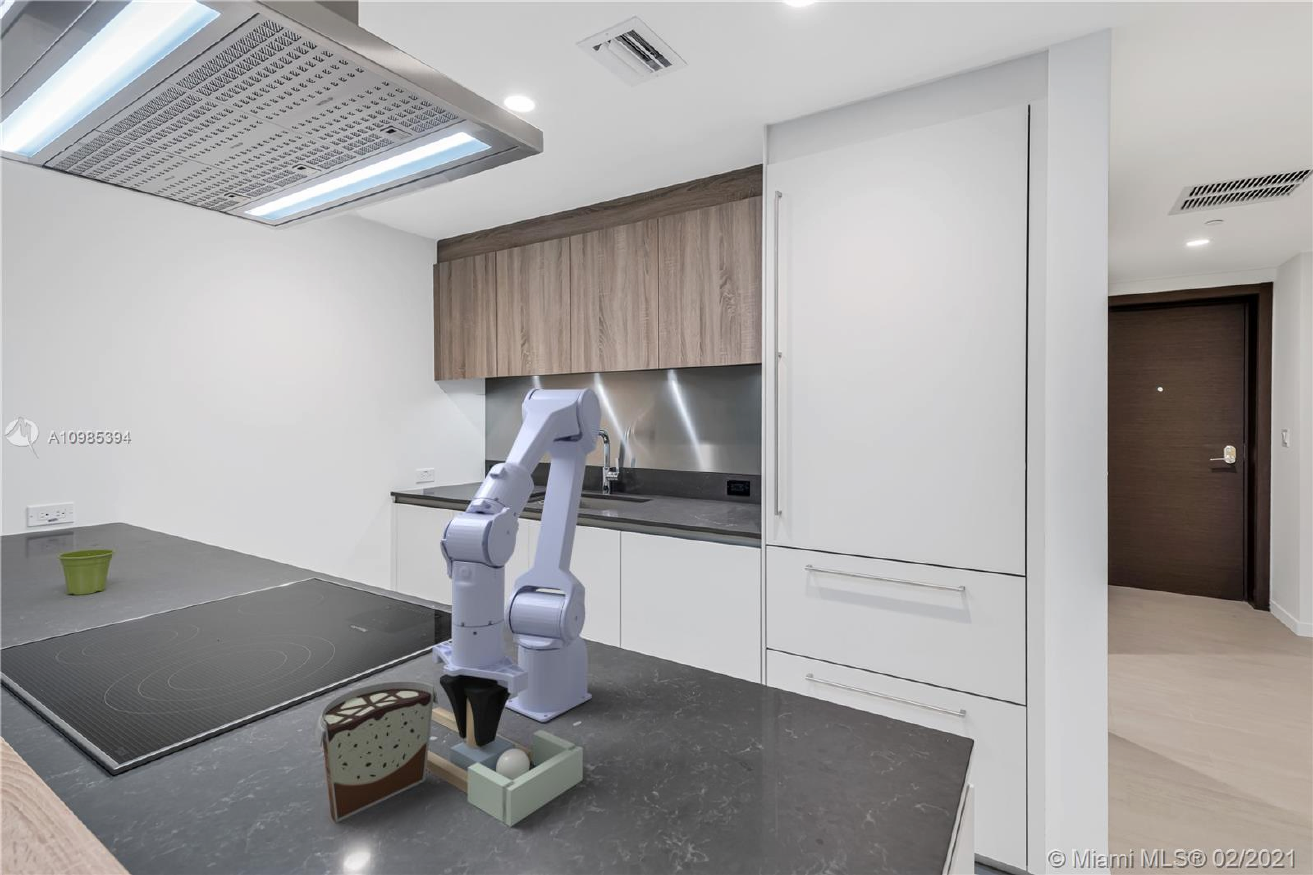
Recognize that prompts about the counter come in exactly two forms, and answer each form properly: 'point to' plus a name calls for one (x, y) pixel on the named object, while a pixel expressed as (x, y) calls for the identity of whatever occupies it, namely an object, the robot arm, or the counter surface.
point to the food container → (375, 743)
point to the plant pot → (86, 570)
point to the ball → (512, 764)
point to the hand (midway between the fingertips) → (477, 738)
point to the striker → (478, 748)
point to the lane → (443, 766)
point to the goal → (527, 780)
